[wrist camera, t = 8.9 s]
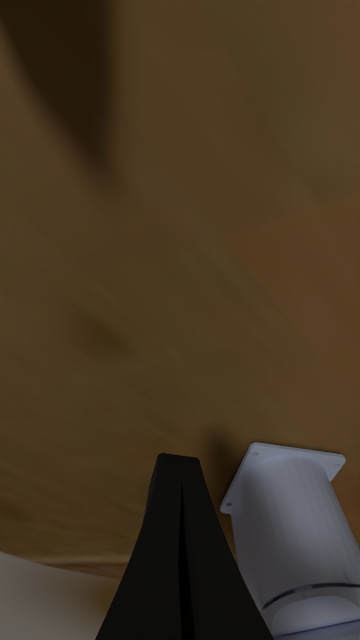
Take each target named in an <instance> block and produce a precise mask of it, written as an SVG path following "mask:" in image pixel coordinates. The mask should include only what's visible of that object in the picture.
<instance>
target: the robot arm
mask: <svg viewBox="0 0 360 640" xmlns="http://www.w3.org/2000/svg"><path fill="white" fill-rule="evenodd" d="M345 461H346V459H345V457H344V456H343V455H342V454H336V453H329V452H322V451H315V450H308V449H301V448H294V447H287V446H280V445H272V444H265V443H258V442H255V443H252V444H251V445H250V447H249V449H248V451H247V453H246V455H245V457H244V459H243V461H242V463H241V465H240V467H239V469H238V471H237V473H236V475H235V477H234V479H233V481H232V483H231V485H230V487H229V489H228V491H227V493H226V495H225V497H224V499H223V501H222V503H221V505H220V511H221V512H222V513H227V514H231V520H232V527H233V534H234V541H235V548H236V555H237V562H238V566H237V564H236V562H235V560H234V557H233V555H232V553H231V550H230V548H229V546H228V543H227V541H226V538H225V536H224V533H223V531H222V528H221V525H220V523H219V520H218V518H217V515H216V512H215V510H214V507H213V504H212V501H211V498H210V495H209V492H208V489H207V486H206V483H205V479H204V476H203V472H202V469H201V465H200V461H199V459H198V458H196V457H188V456H181V455H173V454H166V453H161V454H159V455H158V457H157V461H156V464H155V468H154V471H153V475H152V478H151V482H150V486H149V493H148V499H147V505H146V510H145V515H144V520H143V524H142V528H141V531H140V533H139V536H138V539H137V542H136V544H135V547H134V550H133V553H132V555H131V558H130V560H129V563H128V565H127V568H126V570H125V573H124V575H123V578H122V580H121V582H120V585H119V587H118V590H117V592H116V594H115V597H114V599H113V601H112V603H111V606H110V608H109V610H108V612H107V615H106V617H105V619H104V621H103V624H102V626H101V628H100V630H99V632H98V635H97V637H96V639H95V640H360V549H359V547H358V545H357V542H356V540H355V538H354V536H353V533H352V531H351V529H350V527H349V524H348V522H347V520H346V517H345V515H344V513H343V511H342V508H341V506H340V504H339V502H338V499H337V497H336V495H335V492H334V490H333V488H332V486H331V483H330V482H331V480H332V479H333V478H334V476H335V475H336V474H337V472H338V471H339V470H340V468H341V467H342V466H343V464H344V463H345Z"/></svg>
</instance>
